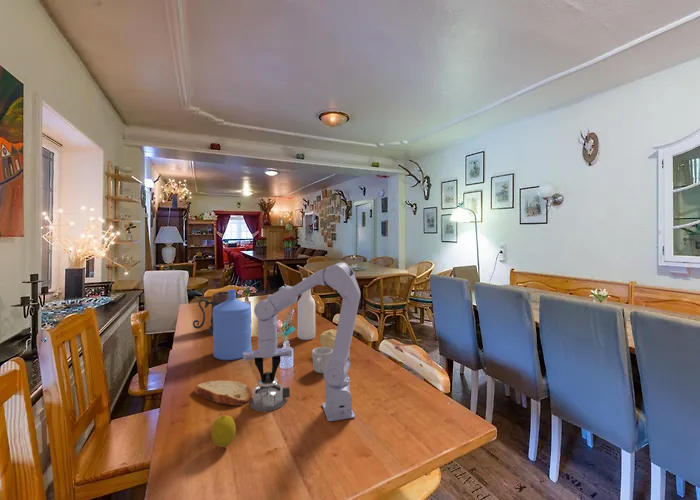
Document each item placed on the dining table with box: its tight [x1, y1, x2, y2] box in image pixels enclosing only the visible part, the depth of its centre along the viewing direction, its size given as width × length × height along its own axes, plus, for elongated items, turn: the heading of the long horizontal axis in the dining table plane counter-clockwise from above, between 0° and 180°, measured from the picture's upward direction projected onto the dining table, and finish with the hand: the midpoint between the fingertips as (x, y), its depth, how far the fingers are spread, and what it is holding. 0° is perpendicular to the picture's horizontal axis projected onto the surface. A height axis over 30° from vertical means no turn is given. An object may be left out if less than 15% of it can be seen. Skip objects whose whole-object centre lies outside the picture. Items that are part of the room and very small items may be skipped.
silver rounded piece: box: [257, 371, 279, 396], centre depth 101 cm, size 7×7×7 cm
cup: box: [311, 346, 333, 374], centre depth 123 cm, size 11×8×8 cm
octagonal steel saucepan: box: [252, 383, 291, 409], centre depth 102 cm, size 9×11×4 cm
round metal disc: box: [249, 397, 287, 413], centre depth 102 cm, size 11×11×1 cm
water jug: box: [212, 289, 253, 361], centre depth 141 cm, size 16×16×28 cm
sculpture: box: [319, 328, 337, 350], centre depth 142 cm, size 12×12×11 cm
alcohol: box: [297, 277, 316, 341], centre depth 163 cm, size 9×9×30 cm
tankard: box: [192, 290, 228, 335], centre depth 174 cm, size 24×17×20 cm
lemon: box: [211, 414, 237, 448], centre depth 80 cm, size 6×6×8 cm
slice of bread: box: [194, 380, 253, 407], centre depth 106 cm, size 18×18×4 cm
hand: (267, 380), depth 101 cm, fingers closed on silver rounded piece, 2 cm apart
